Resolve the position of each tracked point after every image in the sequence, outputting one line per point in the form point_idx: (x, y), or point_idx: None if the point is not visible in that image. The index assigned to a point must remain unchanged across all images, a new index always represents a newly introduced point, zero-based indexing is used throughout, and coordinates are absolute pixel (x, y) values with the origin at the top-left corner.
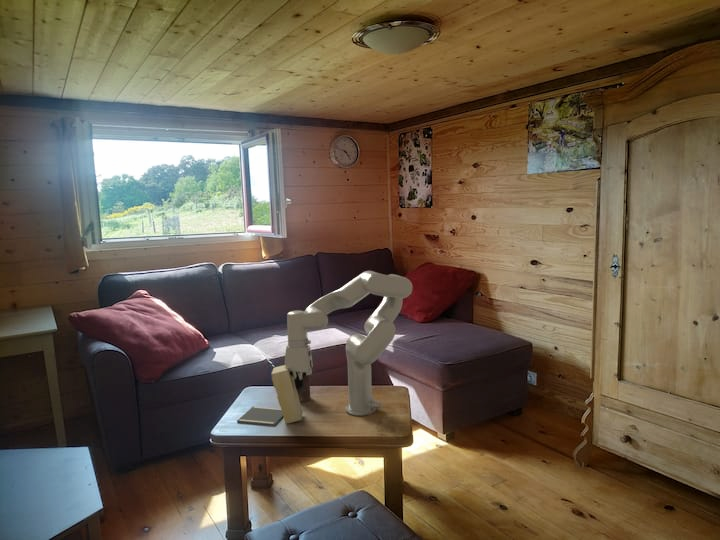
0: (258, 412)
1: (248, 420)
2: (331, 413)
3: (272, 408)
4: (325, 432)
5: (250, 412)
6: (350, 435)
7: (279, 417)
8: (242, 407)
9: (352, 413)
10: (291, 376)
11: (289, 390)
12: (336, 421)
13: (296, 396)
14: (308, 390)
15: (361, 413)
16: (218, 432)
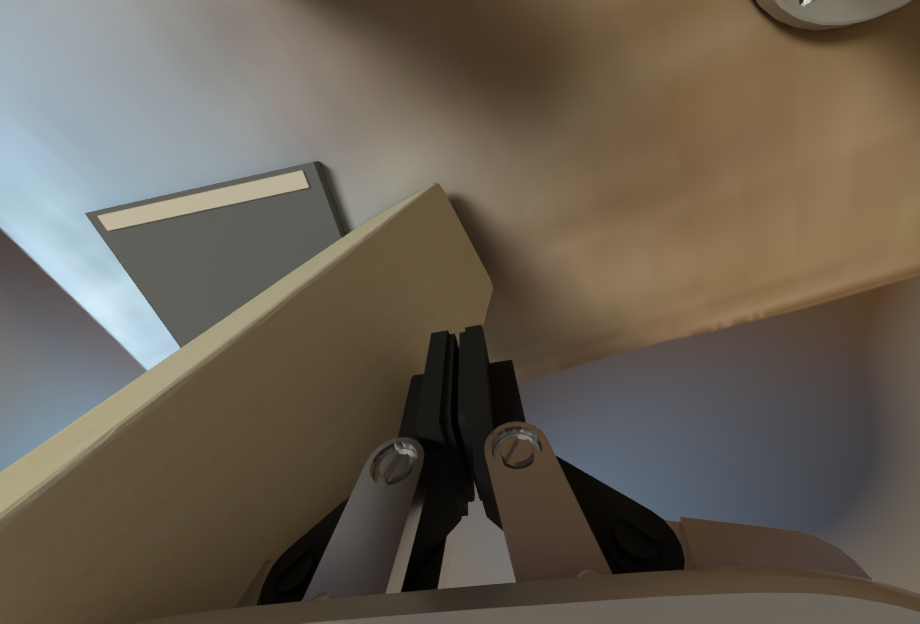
0: (197, 272)
1: None
2: (621, 65)
3: (214, 194)
4: (651, 317)
5: (162, 288)
6: (788, 302)
7: None
8: (36, 224)
9: (815, 25)
10: (314, 487)
11: None
12: (686, 179)
13: (441, 326)
14: None
15: (907, 2)
16: None
